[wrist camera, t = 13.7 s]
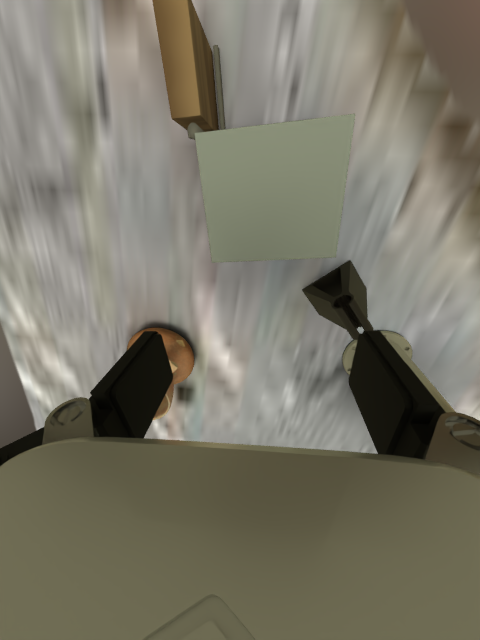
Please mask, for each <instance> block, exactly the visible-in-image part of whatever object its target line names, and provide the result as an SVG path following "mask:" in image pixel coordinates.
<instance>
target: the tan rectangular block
mask: <svg viewBox="0 0 480 640" xmlns="http://www.w3.org/2000/svg"><path fill="white" fill-rule="evenodd" d="M153 6H154V12H155V18H156V25H157V31H158V37H159V43H160V49H161V55H162V61H163V68H164V74H165V80H166V86H167V92H168V98H169V104H170V111H171V117H172V119H173V120H174V121H176V122H177V123H178V124H180V125H181V126H182V127H184V128H185V129H186V130H187V129H188V126H189V124H190V123H196V124H197V125H198V126H199V127H200V128H201V129H202V130H203V131H204V132H208V131H217V130H219V126H218V115H217V103H216V91H215V80H214V68H213V56H212V50H211V48H210V45H209V43H208V40H207V38H206V35H205V33H204V30H203V28H202V26H201V23H200V21H199V18H198V16H197V13H196V11H195V8H194V6H193V3H192V1H191V0H153Z"/></svg>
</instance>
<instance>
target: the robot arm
mask: <svg viewBox="0 0 480 640" xmlns="http://www.w3.org/2000/svg"><path fill="white" fill-rule="evenodd" d="M411 358H412V348H411V345H410V344H409V342H408V341H407V340H406V339H405V338H404V337H402V336H401V335H399V334H397V333H394V332H390V331H364V332H363V334H359V336H358V340H354V341H352V342H351V343H350V344H349V345H348V347H347V348H346V350H345V351H344V354H343V359H342V362H343V366H344V368H345V370H346V372H347V373H348V374H349V375H350V376H349V385H350V388H351V390H352V393H353V395H354V397H355V400H356V402H357V405H358V407H359V409H360V412H361V414H362V417H363V419H364V421H365V424H366V426H367V429H368V431H369V433H370V436H371V438H372V440H373V443H374V445H375V448H376V450H377V452H378V454H372V453H360V452H349V451H335V450H320V449H306V448H291V447H277V446H261V445H245V444H229V443H213V442H197V441H180V440H162V439H145V438H144V436H145V434H146V432H147V430H148V428H149V426H150V424H151V422H152V420H153V418H154V416H155V414H156V412H157V410H158V408H159V406H160V404H161V402H162V400H163V398H164V397H165V395H166V393H167V391H168V389H169V387H170V385H171V383H172V380H173V373H172V369H171V366H170V362H169V359H168V355H167V352H166V349H165V345H164V342H163V338H162V335H161V334H159V333H158V332H157V331H144V332H143V333H142V334H141V335H140V337H139V338H138V339H137V340H136V341H135V342H134V343H133V345H132V346H131V347H130V348H129V349H128V350H127V351H126V352H125V354H124V355H123V356H122V357H121V358H120V359H119V360H118V361H117V363H116V364H115V365H114V366H113V367H112V368H111V369H110V371H109V372H108V373H107V374H106V375H105V376H104V377H103V378H102V380H101V381H100V382H99V383H98V384H97V385H96V386H95V388H94V389H93V390H92V391H91V392H90V393H91V395H92V396H91V397H90V398H89V400H88V399H87V398H82V397H80V398H74V399H71V400H68V401H66V402H64V403H62V404H61V405H59V406H58V407H56V408H55V409H54V410H53V411H52V412H51V413H50V414H49V416H48V417H47V418H46V421H45V426H44V427H43V428H41V429H39V430H37V431H35V432H33V433H31V434H29V435H27V436H25V437H23V438H21V439H19V440H17V441H15V442H13V443H11V444H9V445H6V446H4V447H2V448H0V640H480V421H479V420H477V419H475V418H473V417H470V416H468V415H465V414H461V413H456V412H455V411H454V409H453V408H452V407H451V406H450V405H449V403H448V402H447V401H446V400H445V399H444V398H443V396H442V395H441V394H440V393H439V392H438V391H437V389H436V388H435V387H434V386H433V385H432V383H431V382H430V381H429V380H428V379H427V378H426V376H425V375H424V374H423V373H422V372H421V371H420V369H419V368H418V367H417V366H416V365H415V363H414V362H413V361H412V360H411Z"/></svg>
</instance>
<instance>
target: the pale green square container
mask: <svg viewBox="0 0 480 640" xmlns="http://www.w3.org/2000/svg"><path fill="white" fill-rule="evenodd" d="M213 49H214V60H215V71H216V83H217V94H218V105H219V116H220V128H221V130H217V131H208V132H204V131H203V130H202V129H201V128H200V127H199V126H198V125H197V124H196V123H190V124H189V126H188V129H187V130H188V137H189V138H190V139H194V140H196V147H197V155H198V162H199V170H200V177H201V185H202V192H203V200H204V207H205V215H206V222H207V230H208V237H209V245H210V252H211V259H212V263H215V262H238V261H261V260H285V259H308V258H332V257H336V251H337V244H338V237H339V230H340V222H341V215H342V208H343V200H344V193H345V186H346V179H347V171H348V164H349V157H350V149H351V142H352V135H353V128H354V120H355V114H350V115H341V116H333V117H325V118H316V119H308V120H300V121H291V122H283V123H275V124H267V125H258V126H250V127H242V128H233V129H225V117H224V105H223V92H222V80H221V67H220V55H219V48H218V45H214V46H213Z"/></svg>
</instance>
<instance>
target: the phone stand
mask: <svg viewBox="0 0 480 640" xmlns="http://www.w3.org/2000/svg"><path fill="white" fill-rule="evenodd" d="M302 291H303V292H304V294H305V295H306V296H307V298H308V299H309V301H310V302H311V304H312V305H313V306H314V308H315V309H316V311H317V312H318V314H319V315H321V316H323V317H324V318H326V319H328V320H330V321H332V322H333V323H335V324H337V325H339V326H341V327H342V328H344V329H346V330H347V331H348V332H349V334H350V335H351V337H352V338H353V339H355V340H358V336H359V332H358V331H357V328H358V327H361V326H362V327H363V329H364V330H365V331H373V327H372V325H371V324H370V322H369V320H368V319H367V292H366V287H365V285H364V283H363V281H362V280H361V278H360V276H359V274H358V273H357V271H356V269H355V267H354V266H353V264H352V262H351V261H347V262H346V263H344V264H343V265H341V266H339V267H338V268H336V269H335V270H333V271H331V272H330V273H328V274H327V275H326V276H323V277H322V278H320V279H319V280H317V281H315V282H314V283H312V284H311V285H309V286H307V287H306V288H304V289H303V290H302Z"/></svg>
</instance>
